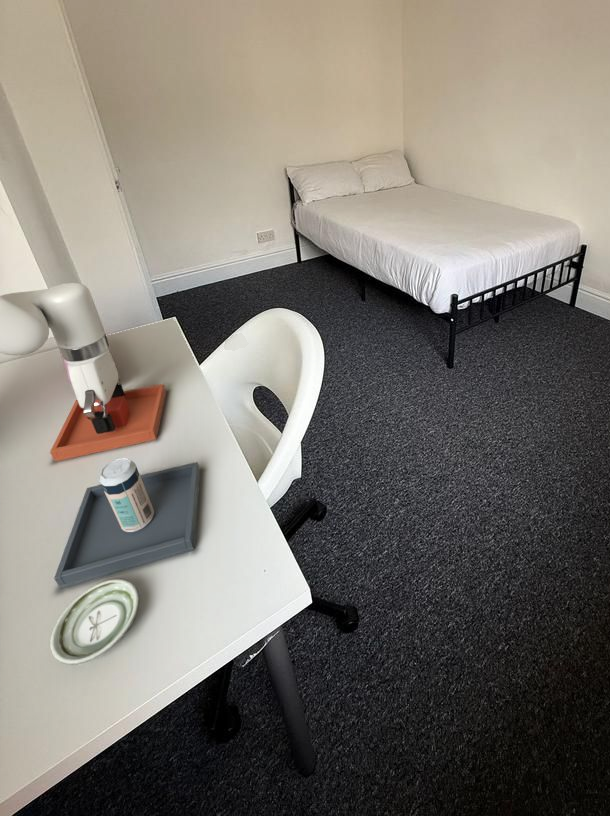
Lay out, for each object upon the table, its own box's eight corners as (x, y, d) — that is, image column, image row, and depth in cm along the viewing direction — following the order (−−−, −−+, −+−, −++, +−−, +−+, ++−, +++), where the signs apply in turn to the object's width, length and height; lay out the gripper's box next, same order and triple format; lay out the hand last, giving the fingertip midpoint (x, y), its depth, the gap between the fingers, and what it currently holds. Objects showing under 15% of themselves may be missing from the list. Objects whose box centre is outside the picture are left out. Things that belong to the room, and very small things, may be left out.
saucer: (153, 627, 54) (148, 617, 53) (65, 694, 48) (58, 684, 47) (130, 573, 61) (125, 563, 59) (50, 627, 55) (43, 616, 54)
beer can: (150, 501, 70) (130, 450, 65) (158, 521, 67) (137, 469, 62) (118, 518, 68) (94, 466, 62) (125, 540, 64) (100, 487, 59)
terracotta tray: (54, 461, 79) (49, 451, 78) (80, 408, 92) (76, 399, 91) (156, 439, 84) (152, 430, 83) (166, 392, 97) (163, 383, 96)
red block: (101, 431, 85) (94, 414, 83) (106, 416, 89) (100, 400, 87) (125, 425, 87) (119, 409, 85) (130, 411, 90) (124, 395, 88)
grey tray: (60, 589, 59) (53, 578, 58) (91, 498, 72) (86, 487, 71) (194, 550, 64) (190, 539, 62) (200, 471, 77) (197, 461, 76)
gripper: (76, 328, 86) (102, 393, 93) (44, 376, 71) (79, 449, 79) (117, 322, 88) (140, 387, 95) (95, 368, 73) (123, 440, 81)
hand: (112, 415), depth 87 cm, fingers open, 9 cm apart
